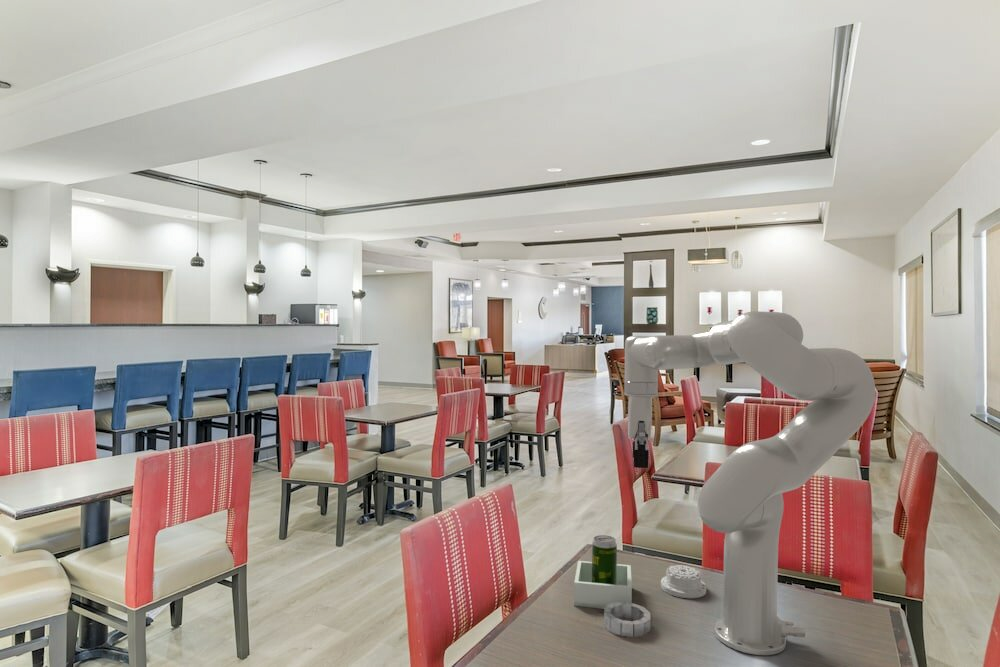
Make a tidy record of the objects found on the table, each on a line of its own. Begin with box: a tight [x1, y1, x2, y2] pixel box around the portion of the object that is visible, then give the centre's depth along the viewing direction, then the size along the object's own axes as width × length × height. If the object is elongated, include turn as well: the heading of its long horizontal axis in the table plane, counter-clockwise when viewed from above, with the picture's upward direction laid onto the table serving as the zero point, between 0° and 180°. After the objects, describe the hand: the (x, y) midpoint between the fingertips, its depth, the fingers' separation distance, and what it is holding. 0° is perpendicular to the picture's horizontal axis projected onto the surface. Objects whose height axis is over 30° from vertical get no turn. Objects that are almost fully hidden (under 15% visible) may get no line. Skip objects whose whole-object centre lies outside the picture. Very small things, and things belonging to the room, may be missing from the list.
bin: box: [573, 560, 633, 610], centre depth 130 cm, size 12×12×5 cm
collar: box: [603, 602, 652, 638], centre depth 117 cm, size 9×9×2 cm
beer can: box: [591, 534, 618, 585], centre depth 129 cm, size 5×5×12 cm
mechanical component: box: [660, 564, 707, 599], centre depth 134 cm, size 10×4×10 cm
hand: (640, 462), depth 136 cm, fingers open, 9 cm apart
